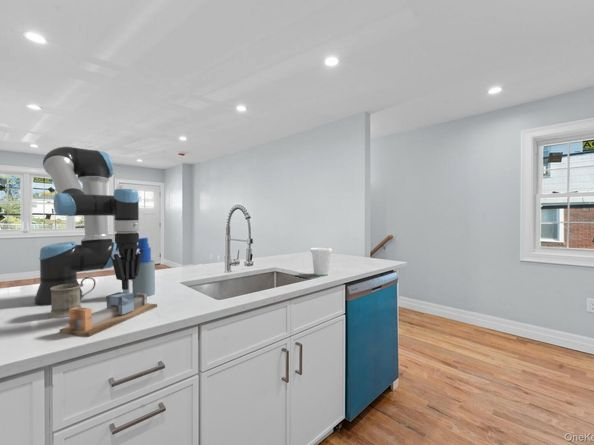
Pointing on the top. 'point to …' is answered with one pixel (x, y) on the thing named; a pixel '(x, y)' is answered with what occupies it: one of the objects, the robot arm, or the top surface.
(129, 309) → the slider
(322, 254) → the cup
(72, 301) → the mug
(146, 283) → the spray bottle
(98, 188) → the robot arm
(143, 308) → the rail board
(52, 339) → the top surface
